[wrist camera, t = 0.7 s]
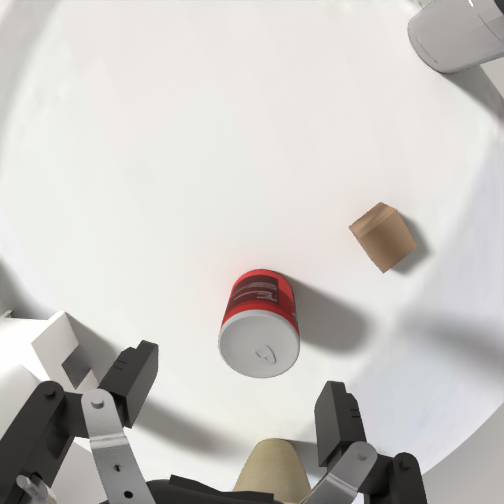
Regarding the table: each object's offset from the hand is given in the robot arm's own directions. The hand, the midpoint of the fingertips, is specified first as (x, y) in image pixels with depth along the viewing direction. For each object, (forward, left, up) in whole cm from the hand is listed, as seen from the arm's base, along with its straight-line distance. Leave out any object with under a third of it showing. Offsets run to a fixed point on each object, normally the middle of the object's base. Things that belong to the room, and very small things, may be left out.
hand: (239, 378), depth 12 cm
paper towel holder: (+45, -8, -23) cm, 52 cm away
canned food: (+4, +6, -23) cm, 24 cm away
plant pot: (+24, +34, -23) cm, 48 cm away
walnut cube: (-12, +8, -23) cm, 27 cm away
